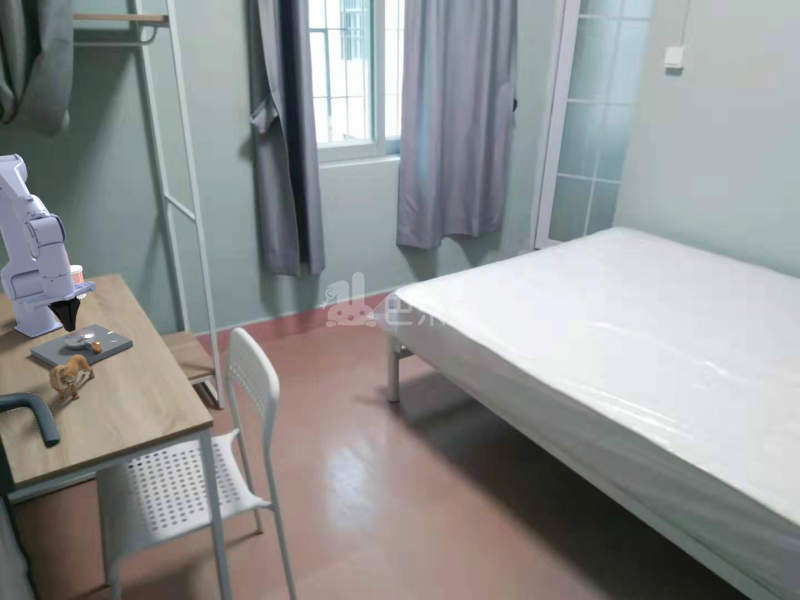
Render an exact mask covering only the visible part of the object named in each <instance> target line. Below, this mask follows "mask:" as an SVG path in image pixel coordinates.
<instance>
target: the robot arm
mask: <svg viewBox="0 0 800 600" xmlns="http://www.w3.org/2000/svg"><path fill="white" fill-rule="evenodd" d="M27 179H28V171H27V166H26V163H25V162H24V160H23V158H22V157H21V156H20V155H19V154H17V153H14V154H10V155H1V156H0V234H1V237H2V239H3V244H4V247H5V250H6V252H7V256H8V259H9V261H8V262H7V263H6V264H5V266H3V268H2V269H0V279H1V286H2V288H3V289H2V290H3V291H4V295H5V296H6V297H7V299H8V300H9V301H11V306H12V307H11V308H12V310H13V314H14V317H15V320H16V325H15V326H14V327H13V329H14V330H16V331H18V332H20V333H22V334H23V335H25V336H28V337H29V338H36V337H39V336H42V335H44V334H47V333H50V332H52V331H55V330H58V329H60V328H63V329H64V331H66V332H68V333H72V332H75V331H77V329H76V325H77V324H76V323H77V317H78V316H77V315H78V311H79V308H80V306H81V300H80V299H78V298H77V296H78V295H81V294H84V293H86V294H88V293H90V292H92V293H93V292H97V290H98V289H97V285H96V282H94V281H92V280H91V281H90V280H89V281H85V282H84V283H81V284H76V285H74V283H73V279H72V275H71V271H70V267H69V263H70V262H69V263H68V259H69V258H68V259H67V255H68V254H67V255H66V252H67V251H66V247H65V243H66V242H67V233H66V229H65V227H64V224H63V222H62V219H61V218H60V217H59V215H56V214H54V213H50V212H49V210H48V209H47V207H46V206H45V204H44V203H43V201H42V200H41V198H40V197H38V196H37V195H35V194H31V192H30V191H29V189H28V187H27V185H26V182H27ZM33 256H34V258H33ZM55 316H56V317H57V318H58V320H59V321H60V322H59V321H57V320H56V317H55Z"/></svg>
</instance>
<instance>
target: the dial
mask: <svg viewBox="0 0 800 600" xmlns="http://www.w3.org/2000/svg"><path fill="white" fill-rule="evenodd" d="M78 330H79V331H78ZM78 330H75V331H72V332H69V333H68V335H67V334H66V335H67V336H65V335H64V336H65V338H64V340H65V344H66V347H67V348H68V349H70V350H79V349H84V348H86V349H88V350H90V351H92V352H94V353H100V352H102V348H101V344H100V341H96V337H95V333H94V331H92V330H80V329H78Z"/></svg>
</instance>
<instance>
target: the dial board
mask: <svg viewBox="0 0 800 600" xmlns="http://www.w3.org/2000/svg"><path fill="white" fill-rule="evenodd" d="M79 330H92V331H94V333H95V337H96V341H100V344H101V348H102V352H100V353H94V352H92V351H90V350H88V349H86V348H84V349H79V350H70V349H68V348H67V347H66V344H65V340H64V338H65V336H67V335H68V334H69V333H68V334H64V335H62V336H59V337H57V338H54V339H52V340H49V341H47V342H44V343H42V344H41V343H40V344H39V345H36V346H33V347H31V348H29V351H30V355H32V356H34V357H36V358H37V359H39V360H41V361H43V362H44V363H47V364H48V365H50V366H52V367H55V366H57V365H63V366H64V365H65V364H66V363H67V361H68V359H69V358H70V357H72V356H75V355H82V356H83V357H84V358H85V359H86V361H87V363H88V365H89V366H90V365H92V364H95V363H97V362H99V361H101V359H102V360H104V359H106V358H109V357H110V356H113V355H116V354H117V353H120V352H123V351H124V350H126V349H129V348H131V347H133V346H134V343H133V340H132V339H131V338H128V337H125V336H123V335H122V334H119V333H117V332H116V331H115V332H114V331H112V330H110V329H108V328H105V327H104V326H101V325H99V324H96V323H93V324H91V325H89V326H86V327H83V328H81V329H78V330H77V331H79ZM94 362H95V363H94Z"/></svg>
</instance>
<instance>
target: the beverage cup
mask: <svg viewBox="0 0 800 600" xmlns="http://www.w3.org/2000/svg"><path fill="white" fill-rule="evenodd" d="M66 255H67V259H68V263H69V267H70V271H71V275H72V279H73V283H74V285H76V284H81V283H85V282H84V276H83V266H82V265H79V264H77V265H76V264H73V265H71V264H70V259H69V255H68V252H67V251H66ZM85 296H86V297H87V293H84V294H81V295H78V296H77V298H78V299H81V300H83V299H82V298H84V297H85ZM86 297H85V298H86ZM85 298H84V299H85Z"/></svg>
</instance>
